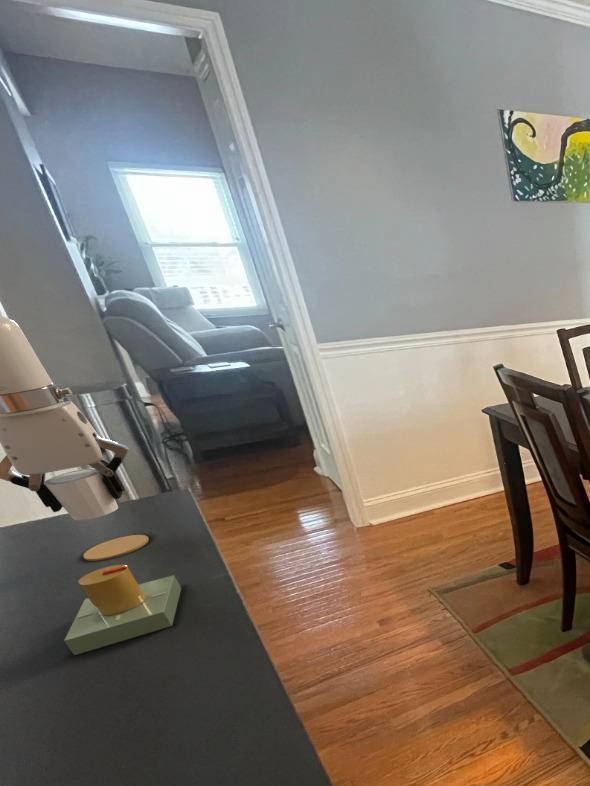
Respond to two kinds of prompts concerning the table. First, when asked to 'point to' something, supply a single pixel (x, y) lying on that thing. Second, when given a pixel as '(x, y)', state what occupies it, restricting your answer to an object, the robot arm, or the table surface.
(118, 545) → the coaster
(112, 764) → the table surface
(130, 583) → the tap handle
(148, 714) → the table surface
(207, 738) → the table surface
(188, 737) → the table surface
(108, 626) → the base
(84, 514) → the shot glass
